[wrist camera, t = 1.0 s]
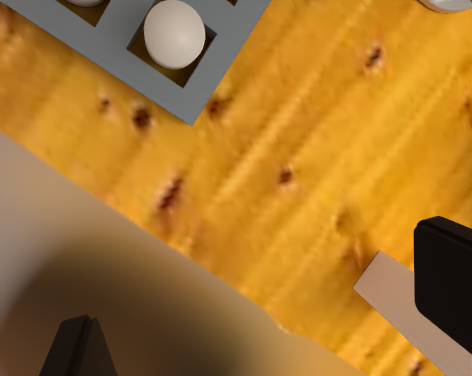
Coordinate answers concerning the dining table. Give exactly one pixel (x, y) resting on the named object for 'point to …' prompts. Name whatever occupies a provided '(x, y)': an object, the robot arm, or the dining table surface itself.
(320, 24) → the dining table surface
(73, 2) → the button
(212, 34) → the board
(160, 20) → the button
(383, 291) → the milk
